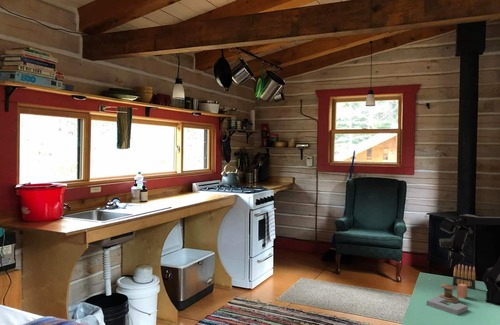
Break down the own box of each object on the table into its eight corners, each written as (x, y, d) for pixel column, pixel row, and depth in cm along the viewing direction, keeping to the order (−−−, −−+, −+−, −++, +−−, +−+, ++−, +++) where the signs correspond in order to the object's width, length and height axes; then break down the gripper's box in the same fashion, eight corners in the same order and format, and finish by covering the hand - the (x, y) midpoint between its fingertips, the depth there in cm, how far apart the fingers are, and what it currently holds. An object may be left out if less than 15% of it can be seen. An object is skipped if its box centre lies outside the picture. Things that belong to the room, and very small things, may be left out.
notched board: (467, 310, 186) (467, 305, 186) (456, 314, 180) (457, 310, 180) (437, 300, 197) (437, 296, 197) (426, 304, 191) (426, 300, 191)
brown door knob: (461, 300, 199) (462, 287, 198) (452, 304, 193) (453, 290, 193) (443, 295, 206) (444, 282, 205) (434, 298, 200) (434, 285, 200)
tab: (466, 297, 204) (467, 285, 204) (463, 298, 201) (463, 286, 201) (460, 295, 206) (461, 283, 206) (457, 296, 204) (457, 284, 204)
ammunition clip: (452, 285, 222) (453, 263, 222) (453, 284, 224) (454, 262, 224) (474, 289, 216) (475, 267, 215) (475, 288, 217) (476, 266, 217)
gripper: (441, 227, 223) (433, 253, 226) (444, 238, 205) (435, 266, 209) (463, 233, 219) (454, 259, 223) (468, 245, 202) (459, 273, 206)
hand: (450, 264), depth 215 cm, fingers open, 9 cm apart
